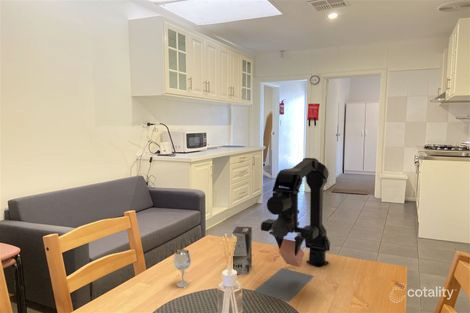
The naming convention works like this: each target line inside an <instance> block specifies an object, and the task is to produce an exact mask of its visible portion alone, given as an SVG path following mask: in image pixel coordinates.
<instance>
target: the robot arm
mask: <svg viewBox="0 0 470 313" xmlns="http://www.w3.org/2000/svg"><path fill="white" fill-rule="evenodd" d="M329 176H330V174H329V170H328V168H327V166H326V165H325V164H323V163H321V162H320V161H319V160H318V159H317V158H314V157H304V158H303V159H302V160H301V161H300V162H298V163H297V164H296V165H295V166H292V167H291V168H284V169H281V170H279V172H278V173H277V175H276V177H275V180H274V184H273V188H272V190H271V191H272V196H271V197H269V198H268V200H267V202H266V209H267V210H268V211H269V213H270V214H272V215H274V216H277V218H276V219H272V218H268V219H266V220H264V221H262V222H261V223H260V230H261V231H263V232H269V235H271V236H273V237H274V239H275V241H276V244H277V247H278V251H279V250H280V247H281V244H282V241H283V239H285V237H286V236H288V234H289V233H290V234H293V233H295V234H296V236H294V237H293V239H294V241H295V256H296V255H297V254H298V252H299V250H300V247H301V248H302V244H303V242H304V243H305V248H306V249H309V253H308V260H306V263H308V264H309V265H313V266H314V267H317V268H318V267H319V268H320V267H323V266H325V265H327V264H330V263H329V262H330V261H327V260H326V252H330V251H331V250H330V249H331V248H330V247H331V242H330V240H329V237H328V236H327V230H326V228H325V227H324V226H325V225H324V224H323V205H324V203H323V196H324V195H323V192H324V191H323V189H324V187H325V186H326V184H327V183H328V179H329ZM303 178H305V183H306V184H307V185H308V187H309V189H310V190H309V192H310V194H309V196H310V199H309V204H310V205H309V209H310V210H309V214H310V215H309V216H310V217H309V218H310V219H309V225H305V226H304V227H299V225H300V222H299V220H298V217H299V214H300V209H298V208H299V193H300V189H301V186H302V184H303Z"/></svg>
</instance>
